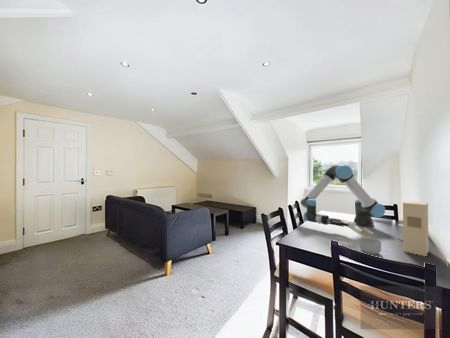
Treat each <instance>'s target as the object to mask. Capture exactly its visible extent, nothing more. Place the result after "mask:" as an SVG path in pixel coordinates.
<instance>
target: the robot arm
mask: <svg viewBox="0 0 450 338" xmlns="http://www.w3.org/2000/svg"><path fill="white" fill-rule="evenodd" d="M354 176H355V175H354V173H353V169H352V167H350V166H348V165H347V164H338V165H336V164H335V165H332V166H331V167H329V168H328V169H327V170H326V171H325V172H324V174H323V176H322V178H321V179H320V180H319V182H318V183H316V185H315V186H314V187H313V188H312V189H311V191H310V192H309V193H308V194H307V195H306V196H305V198H302V199H301V200H300V205H301V207H303V208H305V209H306V211H305V212H303V219H304V221H307V222H310V223H316V224H318V225H321V224H322V225H325V226H327V225H333V226H339V227H341V228H343V227H346V228H347V227H348V228H349V227H352V228H354V227H356V228H357V226H362V227H374V226H375V224H374V221H373V218H381V217H383V216H384V215H385V213H386V207H385V205H384V204H381V203H379V202H378V201H377V200H376V199H375V198H373V197H371V196H370V195H369V194H368V192H366V190H365V189H364V188H363V187H362V186H361V184H360V183H358V181H357V180H356V179H355V177H354ZM336 179H338V181H339V182H340V183H341V184H344V185H345V186H346V187H347V188H348V190H349V191H350V192H351V193H352V195H354V196H355V198H357V199H356V200H355V217H354V220H353V222H352V221H348V220H345V219H344V220H345V221H346V222H348V223H346V222H344V223H343V222H340V221H341V220H342V219H340V218H335V217H329V215H326V214H321V213H317V200H316V199H317V198H318V197H319V196H320V195H321V194H322V192H323V191H324V190H325V189H326V188H327V187H328V185H329V184H330V183H331V182H333V181H335V180H336ZM372 217H373V218H372Z"/></svg>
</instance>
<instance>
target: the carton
mask: <svg viewBox="0 0 450 338" xmlns="http://www.w3.org/2000/svg"><path fill="white" fill-rule="evenodd" d="M402 224H403V241H402V243H403V244H402V247H403V248H402V250H403V251H402V252H404V253H408V252H409V254H412V253H413V255H416V254H418V255H417V256H421V255H422V256H421V257H425V256H428V254H429V202H422V201H414V200H413V201H412V200H405V201H404V202H402ZM427 253H428V254H427Z"/></svg>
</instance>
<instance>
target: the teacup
mask: <svg viewBox="0 0 450 338" xmlns="http://www.w3.org/2000/svg"><path fill="white" fill-rule="evenodd" d="M359 247H360V249H361V251H363V252H364V253H366V254H368V255H378V254H380V253H381V251H382V241H381V240H380V239H378V238H375V237H372V236H371V237H362V236H361V237H359Z"/></svg>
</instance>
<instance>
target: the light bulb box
mask: <svg viewBox="0 0 450 338" xmlns="http://www.w3.org/2000/svg"><path fill="white" fill-rule="evenodd" d="M397 229H398V230H397V239H398V240H400V241H402V242H403V223H402V224H401V223H398V224H397Z"/></svg>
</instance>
